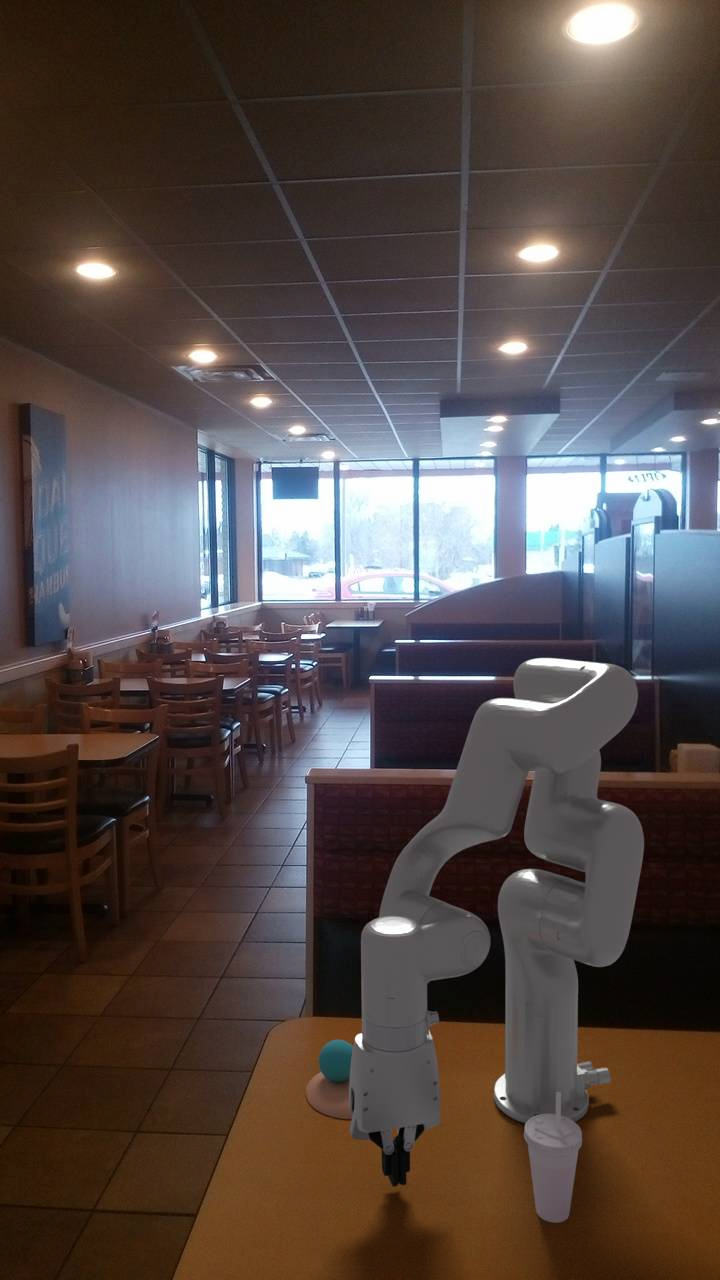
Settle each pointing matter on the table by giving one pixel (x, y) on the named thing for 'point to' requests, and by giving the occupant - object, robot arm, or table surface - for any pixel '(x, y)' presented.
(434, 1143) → the table surface
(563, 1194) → the smoothie
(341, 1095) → the pink flattened dome
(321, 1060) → the ball
